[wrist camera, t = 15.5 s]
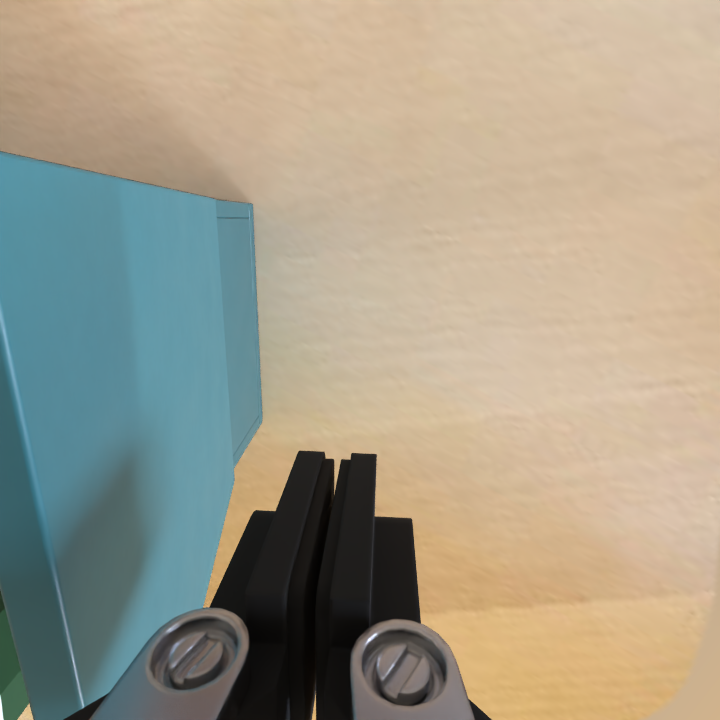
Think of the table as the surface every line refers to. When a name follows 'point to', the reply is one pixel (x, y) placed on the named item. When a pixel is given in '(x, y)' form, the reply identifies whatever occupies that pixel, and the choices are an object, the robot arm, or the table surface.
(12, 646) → the beer bottle
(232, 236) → the teal open box
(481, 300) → the table surface
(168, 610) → the lid
